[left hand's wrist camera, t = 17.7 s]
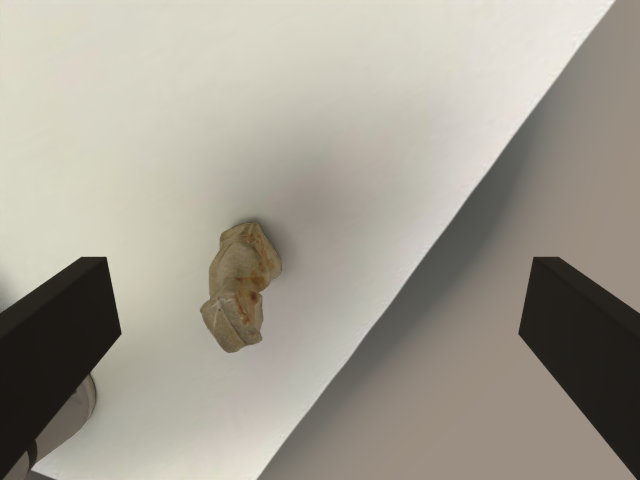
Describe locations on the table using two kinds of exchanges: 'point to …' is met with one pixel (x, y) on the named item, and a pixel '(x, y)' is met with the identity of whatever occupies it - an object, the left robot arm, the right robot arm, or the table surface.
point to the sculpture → (239, 286)
